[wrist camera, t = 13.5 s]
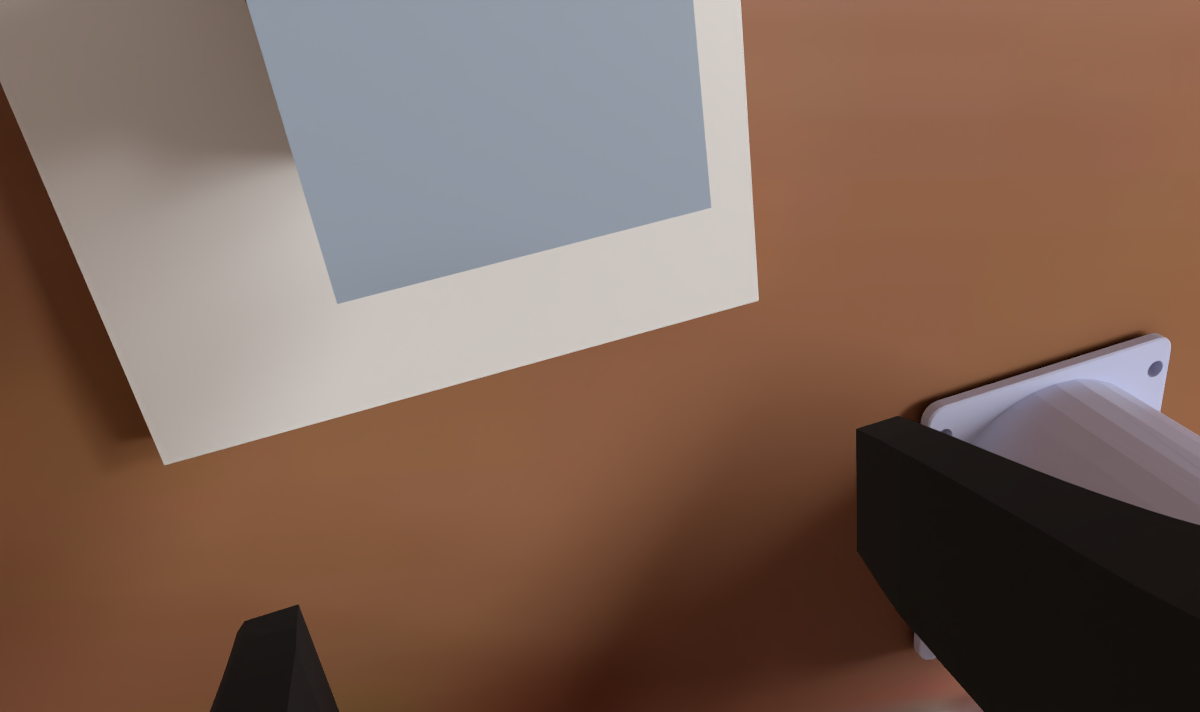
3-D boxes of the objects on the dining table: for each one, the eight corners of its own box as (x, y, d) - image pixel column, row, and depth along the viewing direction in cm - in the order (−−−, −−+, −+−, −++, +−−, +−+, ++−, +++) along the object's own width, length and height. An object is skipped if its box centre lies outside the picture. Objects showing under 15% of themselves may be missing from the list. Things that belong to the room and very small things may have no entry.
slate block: (605, 128, 15) (711, 207, 12) (313, 196, 14) (337, 304, 11) (559, -204, 13) (673, -223, 10) (210, -149, 12) (202, -149, 9)
